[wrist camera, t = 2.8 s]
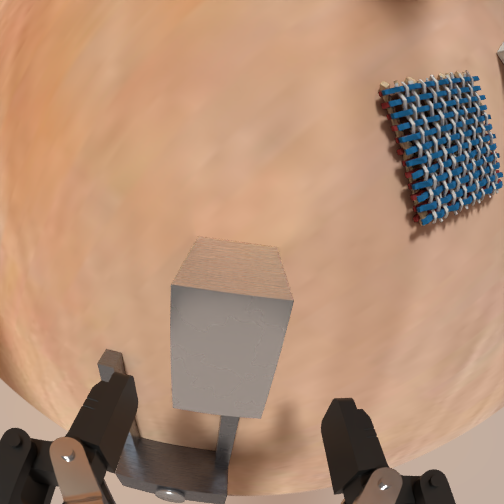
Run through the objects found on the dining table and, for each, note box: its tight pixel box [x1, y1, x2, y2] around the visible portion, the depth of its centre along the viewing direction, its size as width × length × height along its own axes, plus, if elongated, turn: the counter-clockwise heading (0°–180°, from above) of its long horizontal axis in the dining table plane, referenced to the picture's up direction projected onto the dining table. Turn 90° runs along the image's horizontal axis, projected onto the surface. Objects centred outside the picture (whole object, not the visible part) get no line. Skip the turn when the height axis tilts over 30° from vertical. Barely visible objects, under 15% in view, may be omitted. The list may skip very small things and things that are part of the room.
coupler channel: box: [97, 349, 239, 504], centre depth 21 cm, size 12×18×7 cm, turn 171°
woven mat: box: [378, 70, 503, 226], centre depth 15 cm, size 10×11×2 cm
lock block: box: [170, 236, 294, 419], centre depth 16 cm, size 5×8×7 cm, turn 171°
